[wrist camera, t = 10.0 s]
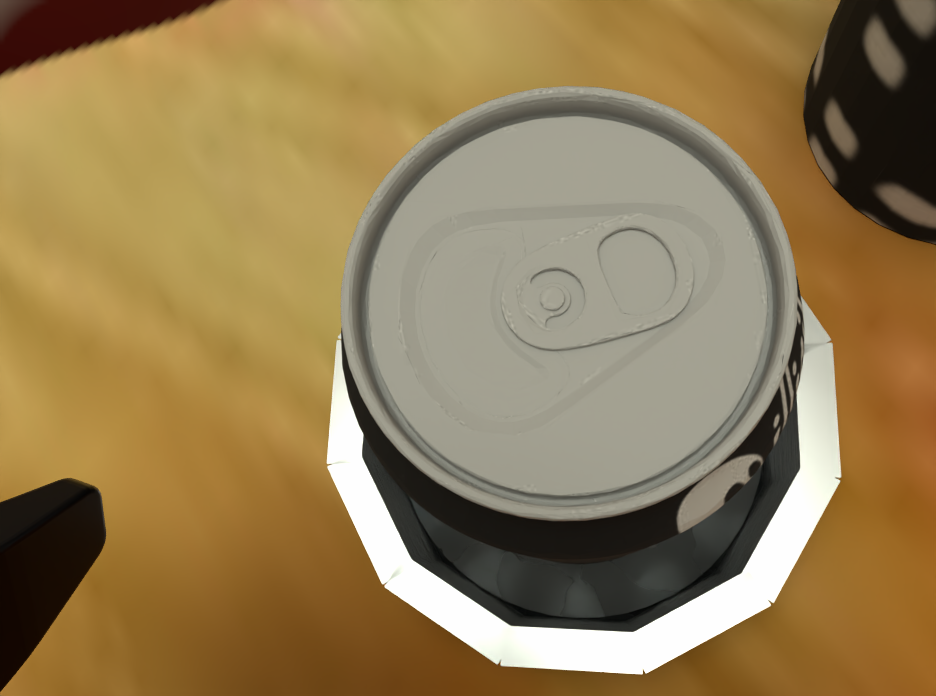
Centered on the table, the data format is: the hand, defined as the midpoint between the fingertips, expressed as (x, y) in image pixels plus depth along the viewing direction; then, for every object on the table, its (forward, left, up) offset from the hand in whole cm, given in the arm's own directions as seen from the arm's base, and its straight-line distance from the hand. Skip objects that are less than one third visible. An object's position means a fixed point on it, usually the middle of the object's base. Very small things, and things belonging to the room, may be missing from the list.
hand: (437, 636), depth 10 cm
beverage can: (+3, -3, -12) cm, 13 cm away
